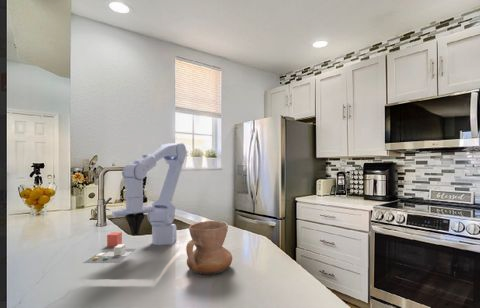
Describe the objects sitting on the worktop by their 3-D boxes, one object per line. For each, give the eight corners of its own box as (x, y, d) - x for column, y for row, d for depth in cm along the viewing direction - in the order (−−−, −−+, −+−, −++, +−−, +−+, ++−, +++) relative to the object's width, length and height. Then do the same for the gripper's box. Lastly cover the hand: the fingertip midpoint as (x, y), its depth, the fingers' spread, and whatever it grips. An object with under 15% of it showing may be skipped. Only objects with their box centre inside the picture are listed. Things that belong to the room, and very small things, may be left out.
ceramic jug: (211, 256, 97) (210, 217, 97) (243, 264, 88) (242, 221, 89) (171, 274, 83) (169, 228, 83) (205, 287, 74) (203, 235, 74)
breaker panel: (136, 252, 103) (136, 247, 103) (118, 267, 89) (118, 260, 89) (105, 252, 103) (105, 247, 103) (82, 267, 89) (82, 260, 89)
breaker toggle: (125, 251, 98) (125, 244, 99) (120, 255, 95) (120, 247, 95) (119, 251, 99) (118, 244, 99) (114, 255, 95) (114, 247, 95)
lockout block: (121, 247, 110) (121, 232, 110) (117, 250, 106) (117, 234, 106) (112, 247, 110) (112, 232, 110) (107, 250, 106) (107, 235, 106)
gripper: (150, 194, 105) (150, 229, 104) (110, 197, 96) (110, 236, 95) (157, 195, 99) (157, 232, 99) (115, 199, 90) (115, 240, 90)
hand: (134, 234), depth 97 cm, fingers closed
